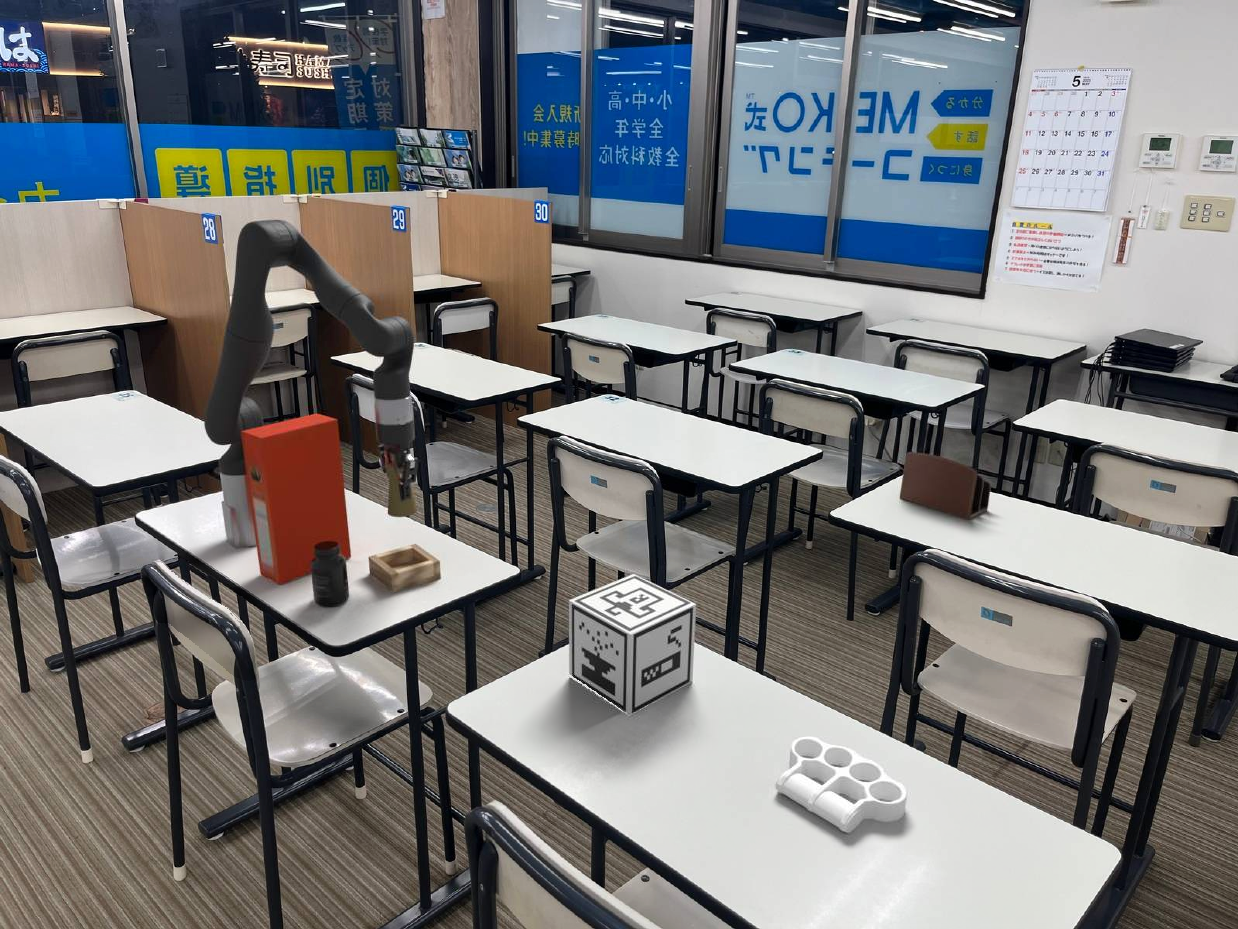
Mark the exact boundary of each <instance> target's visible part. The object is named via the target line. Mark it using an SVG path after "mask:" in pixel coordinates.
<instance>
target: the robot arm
mask: <svg viewBox="0 0 1238 929" xmlns="http://www.w3.org/2000/svg"><path fill="white" fill-rule="evenodd" d="M236 246H237V247H236V253H235V254H236V256H235V270H234V271H235V272H234V280H233V289H232V296H231V301H230V308H229V314H228V319H227V321H226V325H225V330H224V331H225V332H224V338H223V343H222V350H221V355H220V360H219V364H218V367H217V368H218V369H217V372H216V377H215V380H214V383H213V388H212V391H211V393H210V396H209V399H208V402H207V406H206V409H205V413H204V417H203V418H204V419H203V422H204V423H203V424H204V430H205V433H206V436H207V437H208V438H209V440H210V441H211V442H212V443H214V444H216V445H218V446H229V447H228V449H227V450H226V451H225V452H224V453H223V454H222V455H221V457H220V458H219V460H218V467H219V468H218V470H219V475H220V482H221V489H222V490H221V491H222V496H223V500H222V501H221V508H222V516H223V523H224V528H225V529H224V530H225V538H226V541H227V542H229V543H230V545H231V546H232V547H233V548H235V549H236V548H239V547H240V548H241V547H254V546H256V538H255V531H254V524H253V516H252V509H251V502H250V494H249V487H248V480H247V472H246V465H245V458H244V450H243V443H242V436H241V431H245V430H249V429H253V428H258V427H262V426H265V424H264V418H263V414H262V411H261V409H260V407H259V405H258V404H257V403H256V402H255V400H253V399H251V398H250V397H247V396H245V394H246V392H247V390H248V389H249V387H250V385H251V384H252V382H254V380H255V378H256V377H257V375H258V374H259V373H260V372H261V370H262V368H263V367H264V365H265V363H266V362H267V360H268V358H269V356H270V353H271V349H272V344H273V341H274V336H275V335H274V333H275V323H274V318H273V316H272V313H271V311H270V308H269V306H268V303H267V298H266V286H267V282H268V277H269V275H270V274H269V273H270V271H271V269H273V268H281V267H288V268H290V269H292V270H293V271H296V272H297V273H298V274H300V275H301V276H303V277H304V278H305V279H306V281H307V282H308V283H309V284H310V286H311V289H312V291H313V293H314V295H315V298H316V299H317V301H318V302H319V303H320V305H321V306H322V308H324V309H325V310H326V311H327V312H328V313H329V314H331V315H332V316H333V317H334V318H336V320H338V321H339V322H340V323H342V324H343V325H345V326H346V327H347V329H348V331H349V333H350V334H351V335H352V336H353V338H354V339H355V341H356V342H357V343H358V345H359V346H360V347H361V349H363V351H365V352H366V353H368V354H369V355H371V356H374V357H377V358H383V359H382V363H381V364H380V365H379V366H378V367H376V368H375V369H374V371H373V372H372V373H373V374H372V382H373V383H372V386H373V394H374V404H373V408H374V410H373V411H374V412H373V413H374V421H375V432H376V441H377V442H378V443H379V445H377V446H376V448H377V452H378V455H379V460H380V464H381V468H382V472H383V473H384V474H386V466H387V464H388V463H390V462H391V463H393V468H394V471H395V473H396V474H398V482H399V491H400V498H401V501H402V502H403V500H406V499H410V500H411V489H410V483H411V484H414V483H416V481H417V474H418V465H419V459H418V457H412V456H411V449H410V443H411V442H413V441H414V440H415V439H416V434H415V419H414V418H415V417H414V408H413V406H414V405H413V401H412V396H411V383H410V382H411V381H410V370H411V367H412V361H413V355H414V347H415V337H414V336H415V335H414V331H413V329H412V326H411V324H410V323H409V321H407V319H405V318H404V317H402V316H398V315H397V316H395V315H394V316H390V317H386V318H382V319H378V318H376V317H375V316H374V315H375V312H376V311H375V309H376V308H375V305H374V303H373V301H372V300H371V299H370V298H368V297H367V295H365V294H364V293H362V292H361V291H360V290H359V289H357V288H356V287H355V286H354V285H353V284H352V283H350V282H349V281H347V280H346V279H345V278H344V277H343V276H341V274H339V273H338V272H337V271H336V270H335V269H334V268H333V267H332V266H331V265H330V263H328V261H327V260H326V258H324V257H323V256H322V255H321V254H320V253H319V252H318V251H317V249H316V248H315V247H314V246H313V245H312V244H311V243H310V242H309V241H308V240H307V238H306V237H305V236H304V235H303V234H302V233H301V231H299V230H298V229H297V228H296V227H295V226H294V225H293V224H291V223H290V222H288V221H286V220H282V219H265V220H264V219H263V220H255V221H250V222H248V223H246V224H245V225H244V226H243V227H242V228H241V230H240V231H239V235H238V239H237V244H236ZM403 466H404V469H402V470H399V468H398V467H403ZM402 473H403V478H402ZM386 477H387V479H388V480H389V477H388V476H387V475H386Z"/></svg>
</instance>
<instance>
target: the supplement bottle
mask: <svg viewBox="0 0 1238 929" xmlns="http://www.w3.org/2000/svg"><path fill="white" fill-rule="evenodd" d="M314 556H315V558H313V559H312V561H311V564H310V567H311V573H310V575H311V576H310V577H311V584H312V592H313V593H312V595H313V602H314V603H315V604H316V605H317V606H319V607H324V608H330V607H331V608H332V607H334V608H335V607H337V606H340V605H343V604H345V603H346V602H347V601H348V600H349V599H350V590H349V589H350V588H349V579H348V569H347V568H348V566H347V559H345V558H344V556H342V555H341V554H340V548H339V543H337V542H335V541H324V542H320V543H318V544H316V545H315V546H314Z"/></svg>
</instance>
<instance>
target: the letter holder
mask: <svg viewBox="0 0 1238 929" xmlns="http://www.w3.org/2000/svg"><path fill="white" fill-rule="evenodd" d="M904 458H905V459H904V466H903V472H902V478H901V479H902V480H901V487H900V490H899V491H900V493H899V499H901V500H904V501H906V502H907V501H908V502H910V503H914V504H917V505H920V506H922V507H923V506H924V507H926V508H930V509H933V510H936V511H939V512H942V513H945V514H949V515H952V516H955V517H958V518H960V519H961V518H962V519H965V520H967V521H969V520H971V519H974V518H975V517H978V516H980V515H981V514H983V513H985V512H987V511H988V508H989V502H990V494H991V489H992V486H991V482H989V481H987V480H986V479H984V477H982V476H980V475H979V474H978V471H977V470H976V469H974V468H972V467H971V466H968V465H965V464H963V463H960V462H957V461H955V460H952V459H948V458H946V457H942V456H939V455H934V454H929V453H923V452H916V451H909V452H907V453H906V455H905V457H904Z"/></svg>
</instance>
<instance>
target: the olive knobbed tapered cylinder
mask: <svg viewBox="0 0 1238 929" xmlns="http://www.w3.org/2000/svg"><path fill="white" fill-rule="evenodd" d="M398 468H399V470H402V469H404V466H403V467H398ZM385 474H386V477H387V476H388V477H389V479H388V498H387V499H388V500H387V515H388V516H390V517H394V518H404V517H405V518H406V517H410V516H413V515H415V514H416V513H417V512H418V509H417V505H416V499H415V496H414V495H415V494H414V490H413V486H412V483H410V489H411V500H410V499H406V500H403V502H402V501H401V498H400V491H399V482H398V474H396V473H395V471H394V468H393V463H391V462H390V463H388V464H387V466H386V473H385ZM388 477H387V478H388ZM402 478H403V473H402Z"/></svg>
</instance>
